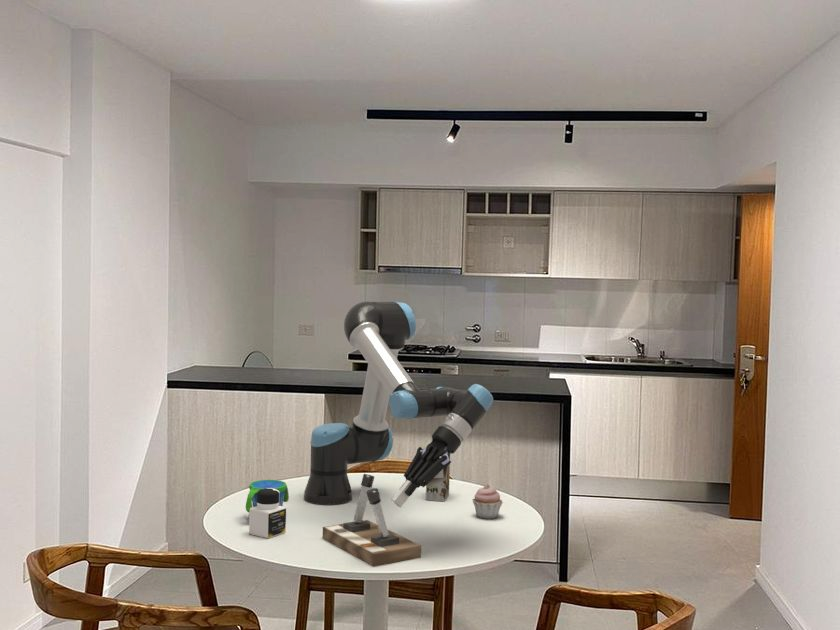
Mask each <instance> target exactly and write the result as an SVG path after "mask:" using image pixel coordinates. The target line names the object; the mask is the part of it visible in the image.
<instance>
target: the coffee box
mask: <svg viewBox="0 0 840 630" xmlns="http://www.w3.org/2000/svg"><path fill="white" fill-rule="evenodd" d="M448 458H449V460H450V461H451V454H450V455H449V456H448ZM450 473H451V463H450V464H449V465H448V466H446V467H444V468H443V469H442V470H441V471H440V472H439V473H438V474H437V475H436V476H435V477H434V478H433V479H432V480H431V481H430V482H429V483H428V484H427V485H426V486H425V501H435V502H436V501H437V502H445V501H446V499H447V498H448V497H449V495H450V475H451V474H450Z"/></svg>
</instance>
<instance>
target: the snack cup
mask: <svg viewBox="0 0 840 630" xmlns="http://www.w3.org/2000/svg"><path fill="white" fill-rule="evenodd" d="M287 485H288V484H287V483H286V482H285V481H282V480H278V479H260V480H255V481H252V482H251V483H249V485H248V487H249V491H248V494H247V497H246V502H245V511H246V512H247V513H249V514H250V508H252V507H256V506H258V505H257V492H258V491H259V490H261V489H265V488H273V489H276V490H278V491H279V492H280V498H279V505H278V506H283V507H284V503H287V502H288V501H289V499H290V498H289V497H290V496H289V489H288V486H287Z"/></svg>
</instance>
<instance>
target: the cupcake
mask: <svg viewBox="0 0 840 630" xmlns="http://www.w3.org/2000/svg"><path fill="white" fill-rule="evenodd" d="M503 503H504V501H503V500H502V499H501V494H500V493H499V492H498V491H497V489H496V487H495V486H493V485H492V484H490V483H486V484H484V485H483V487H480V488H478V490H477V492H476V493H475V495H474V497H473V498H472V504H473V505H474V511H475V515H476V517H478V518H479V519H485V520H493V519H496V518H498V516H499V513H500V509H501V507H502V504H503Z"/></svg>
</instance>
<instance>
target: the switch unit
mask: <svg viewBox="0 0 840 630" xmlns="http://www.w3.org/2000/svg"><path fill="white" fill-rule="evenodd" d="M387 530H388V533H389V535H387V536H386V537H382V536H380V533H379V529H378V526H377V523H375V522H372V521H371V520H369V519H365V520H364V519H362V522H356V521H354V520H353V521H350V522H343V523H339V524H333V525H327V526H323V527H322V539H323V538H324V540H325V541H327V542H329V543H331V544H332V543H333V544H332V545H334V546H336V547H338V548H339V549H341V550H344V551H345V552H347V553H348V554H350V553H351V554H350V555H352V556H354V557H356V558H358V559H359V560H361V559H362V561H363V560H364V561H363V562H366V563H367V564H369V565H370V564H371V565H370V566H371V567H372V566H373V567H376V566H382V565H388V564H392V563H398V562H402V561H409V560H412V559H417V558H421V557H422V545H421V544H419V543H417V542H414V541H413V540H410V539H408V538H406V537H404V536H402V535H400V534H398V533H396V532H394V531H391V530H389V529H387Z"/></svg>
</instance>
